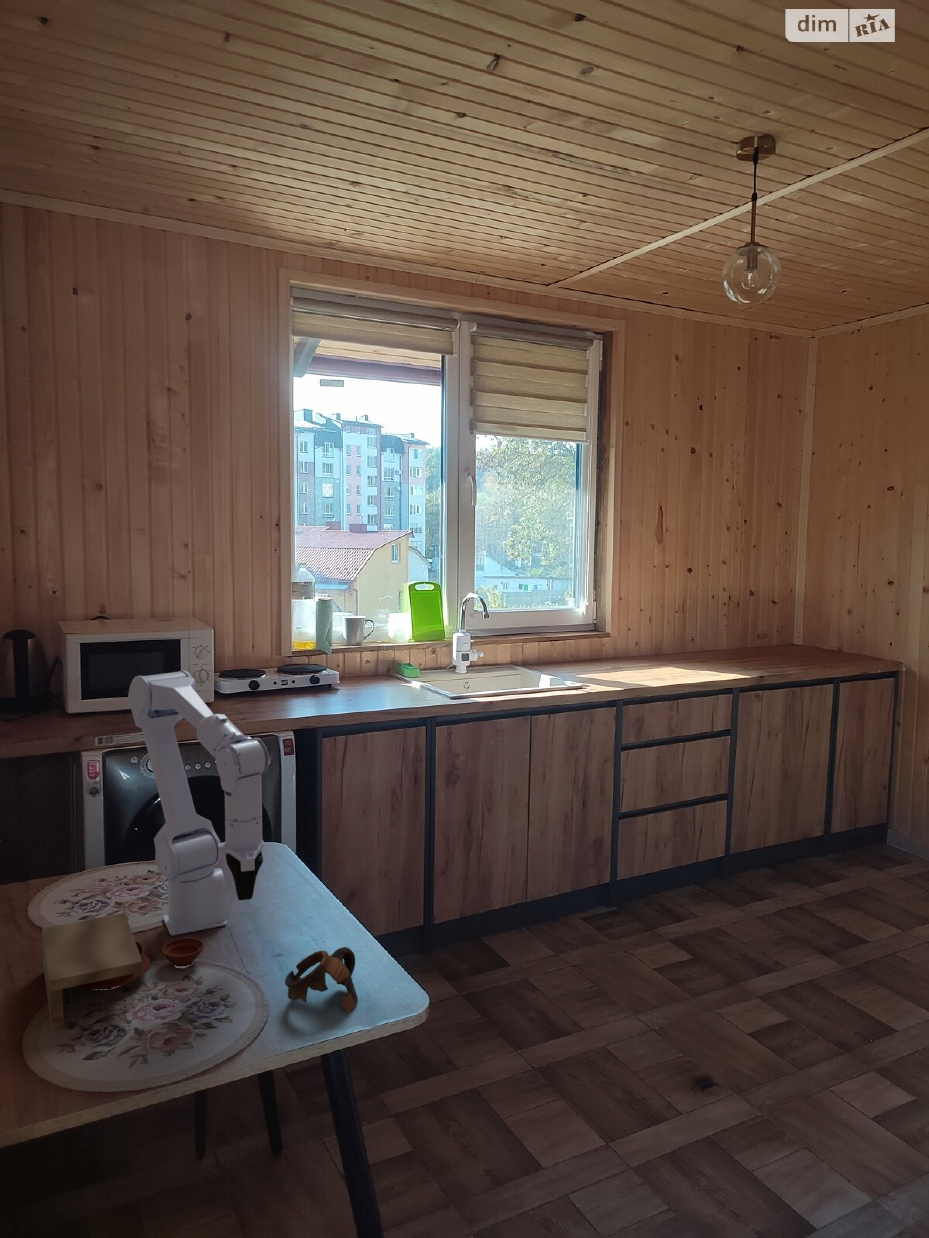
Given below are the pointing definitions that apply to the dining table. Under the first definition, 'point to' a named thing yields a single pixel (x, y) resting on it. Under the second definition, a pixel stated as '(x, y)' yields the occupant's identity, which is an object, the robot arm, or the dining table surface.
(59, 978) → the low shelf
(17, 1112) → the dining table surface
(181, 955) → the pottery
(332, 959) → the broken clay jug rim
